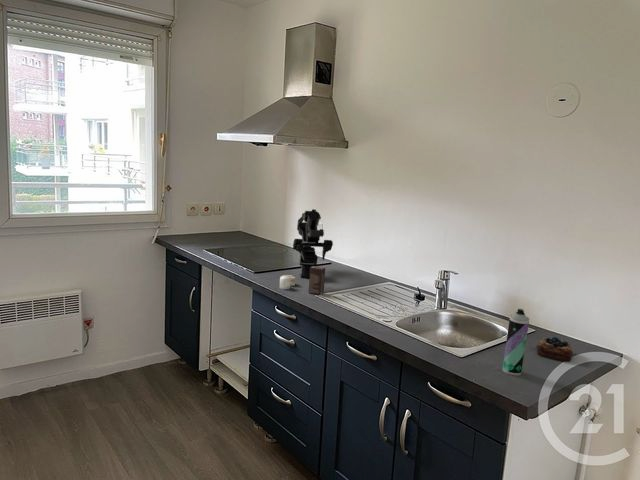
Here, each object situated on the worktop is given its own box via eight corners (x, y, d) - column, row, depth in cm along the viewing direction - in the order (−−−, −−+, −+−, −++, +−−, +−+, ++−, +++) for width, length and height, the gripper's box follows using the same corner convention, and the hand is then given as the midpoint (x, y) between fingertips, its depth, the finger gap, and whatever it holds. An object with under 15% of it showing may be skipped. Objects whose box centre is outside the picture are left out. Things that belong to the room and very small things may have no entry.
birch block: (281, 283, 233) (282, 275, 232) (291, 283, 235) (291, 275, 234) (284, 286, 228) (285, 277, 228) (294, 285, 230) (295, 277, 230)
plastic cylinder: (279, 286, 227) (279, 276, 226) (289, 286, 228) (290, 276, 227) (279, 289, 222) (280, 278, 221) (290, 289, 223) (291, 279, 222)
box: (323, 293, 221) (325, 267, 219) (320, 295, 216) (321, 269, 214) (312, 290, 223) (313, 265, 221) (307, 293, 219) (309, 267, 217)
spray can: (500, 367, 151) (508, 305, 148) (518, 368, 151) (527, 307, 148) (505, 374, 146) (514, 311, 143) (523, 376, 146) (533, 313, 142)
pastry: (536, 357, 162) (539, 340, 161) (535, 345, 173) (538, 330, 172) (572, 364, 158) (575, 347, 157) (569, 352, 169) (572, 336, 168)
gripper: (295, 222, 228) (296, 249, 219) (333, 223, 231) (336, 251, 223) (292, 235, 237) (293, 262, 228) (329, 236, 240) (331, 263, 232)
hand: (313, 259), depth 228 cm, fingers open, 9 cm apart
